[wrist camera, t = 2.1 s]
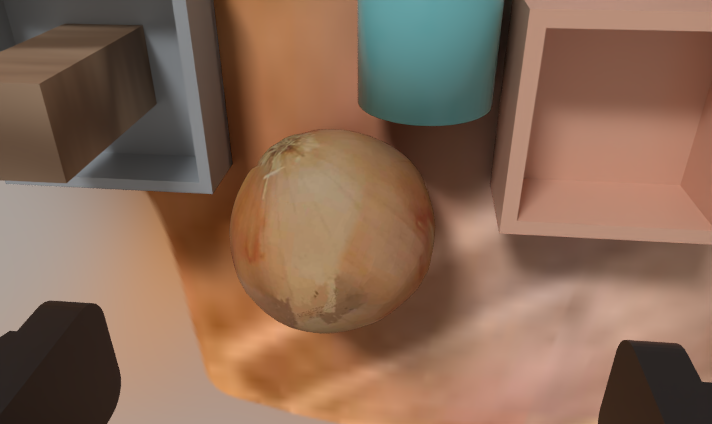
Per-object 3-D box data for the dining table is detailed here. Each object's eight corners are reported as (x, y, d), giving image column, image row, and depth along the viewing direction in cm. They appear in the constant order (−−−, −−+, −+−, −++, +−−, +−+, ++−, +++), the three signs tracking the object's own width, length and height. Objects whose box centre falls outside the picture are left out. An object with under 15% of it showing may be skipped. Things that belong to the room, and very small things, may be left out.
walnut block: (64, 23, 30) (-66, 80, 22) (142, 25, 29) (39, 83, 21) (83, 101, 32) (-30, 178, 24) (156, 104, 31) (66, 183, 23)
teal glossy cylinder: (358, -77, 26) (356, -62, 21) (496, -77, 26) (528, -62, 21) (358, 79, 30) (356, 125, 25) (480, 80, 30) (504, 126, 24)
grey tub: (-18, -56, 29) (-71, -46, 26) (206, -54, 28) (179, -44, 25) (43, 155, 34) (5, 183, 31) (232, 163, 33) (212, 193, 30)
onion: (359, 58, 29) (330, 139, 21) (470, 204, 33) (484, 326, 24) (221, 161, 33) (147, 266, 24) (333, 283, 36) (303, 412, 28)
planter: (514, -15, 27) (530, 8, 23) (749, -12, 26) (812, 13, 22) (489, 183, 32) (499, 233, 28) (686, 192, 31) (727, 245, 27)
